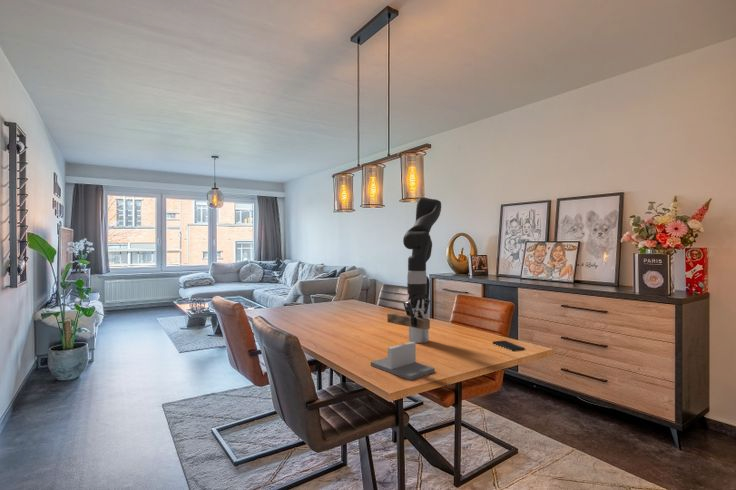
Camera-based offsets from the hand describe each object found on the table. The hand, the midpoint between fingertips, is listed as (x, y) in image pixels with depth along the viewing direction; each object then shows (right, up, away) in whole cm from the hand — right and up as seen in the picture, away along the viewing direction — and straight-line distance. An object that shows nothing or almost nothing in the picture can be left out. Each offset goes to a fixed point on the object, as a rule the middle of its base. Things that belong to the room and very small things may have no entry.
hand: (416, 325), depth 153 cm
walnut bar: (-3, -1, +4) cm, 5 cm away
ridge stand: (-6, -18, +3) cm, 19 cm away
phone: (+49, -18, +37) cm, 64 cm away
